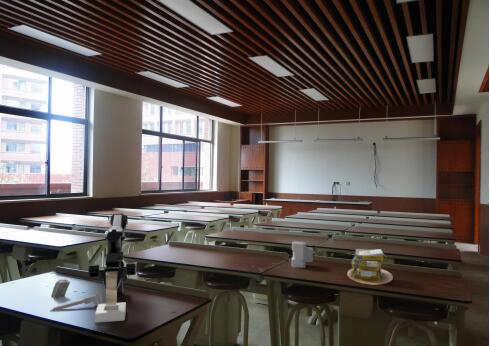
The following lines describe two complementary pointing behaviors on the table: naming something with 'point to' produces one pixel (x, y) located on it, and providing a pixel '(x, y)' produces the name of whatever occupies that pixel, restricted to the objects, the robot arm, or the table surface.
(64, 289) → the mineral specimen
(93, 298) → the caliper
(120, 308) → the socket block
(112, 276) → the birch peg
